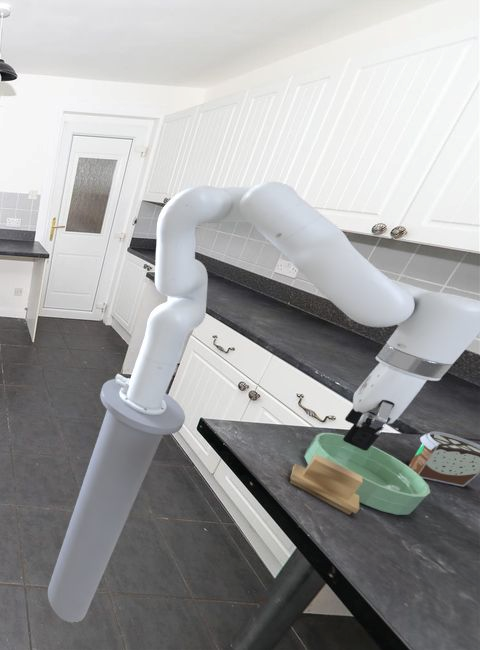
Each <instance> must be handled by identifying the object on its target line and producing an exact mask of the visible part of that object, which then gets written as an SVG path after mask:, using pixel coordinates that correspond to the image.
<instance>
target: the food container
mask: <svg viewBox="0 0 480 650" xmlns="http://www.w3.org/2000/svg"><path fill="white" fill-rule="evenodd" d="M419 440H420V442H421V444H420V446H419V447H418V449H417V451H416V453H415V455H414V456H413V458H412V459H411V461H410V462H409V464H408V465H407V466H408V467H410V468H411V469H412V470H414V471H415V472H416V473H417V474H419V475H420V476H421V477H422V478H423V479H425V480H430V481H435V482H439V483H443V484H449V485H454V486H459V487H465V486H467V485H468V484H469V483H470V482H471V481H472V480H474V479H475V478H476V477H477V476H479V474H480V444H478V443H475V442H473V441H471V440H468V439H465V438H463V437H460V436H458V435H454V434H450V433H447V432H443V431H436V430H435V431H430V432H427V433H425V434H423V435H422V436H421V437H420V438H419Z"/></svg>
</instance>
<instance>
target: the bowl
mask: <svg viewBox="0 0 480 650" xmlns="http://www.w3.org/2000/svg"><path fill="white" fill-rule="evenodd" d="M344 437H345V434H344V435H343V434H339V433H333V432H321V433H318V434H317V435H315V437H314V438H313V439H312V441H311V443H310V444H309V446H308V447H307V448H306V450H305V452H304V459H305V461H306V464H307V465H308V464H309V463H310V461H311V460H312V458H313V457H314V455H315V454H317V455H319V456H321V457H323V458H325V459H327V460H329V461H331V462H333V463H335V464H337V465H339V466H342V467H344V468H346V469H348V470H350V471H352V472H354V473H356V474H358V475H360V476H362V484H361V485H360V486H359V488H358V489H357V490H356V491H355V494H357V495H359V504H362V505H365V506H367V507H369V508H372V509H375V510H378V511H381V512H383V513H389V514H392V515H397V516H403V515H407V516H408V515H410V514H411V513H413V512H414V511H415V510H416V509H417V508H418V507H419V506H420V504H421V503H422V502H423V501H424V500H425V499H427V497H428V496H429V495H430V494H431V490H430V485H429V484H428V483H427V482H426V481H425V480H424V479H425V478H422V477H421V476H420V475H419V474H417V473H416V472H415V471H414V470H412V469H411V468H410V467H408V466H409V465H407V464H406V463H404V462H402V461H401V460H400V459H398V458H397V457H394V456H393V455H391V454H389V453H387V452H385V451H383V450H381V449H380V448H378V447H376V446H374V445H371V447H370V448H369V449H368V450H367V451H365V450H362V449H360V448H358V447H356V446H353V445H351V444H349V443H347V442H345V441H344V440H343V438H344Z"/></svg>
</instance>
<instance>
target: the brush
mask: <svg viewBox="0 0 480 650" xmlns="http://www.w3.org/2000/svg"><path fill="white" fill-rule="evenodd" d="M289 477H290V478H289V479H290V482H289V484H291V485H293V486H295V487H297V488H299V489H300V490H302V491H304V492H307V493H308V494H310V495H312V496H314V497H316V498H318V499H319V500H321V501H323V502H324V503H327V504H328V505H330V506H332V507H334V508H335V509H337V510H340V511H341V512H342V513H345V514H347V515H351V514H352V513H353V514H357V513H358V512H359V510H360V502H359V495H357V494H355V491H356V490H357V489H358V488H359V486H360V485H361V484H362V476H360V475H358V474H356V473H354V472H352V471H350V470H348V469H346V468H344V467H342V466H339V465H337V464H335V463H333V462H331V461H329V460H327V459H325V458H323V457H321V456H319V455H317V454H315V455H314V457H313V458H312V460H311V461H310V463H309V464H308V463H307V465H306V467H304V466H303V465H300V464H298V463H295V464H294V465H293V466H292V471H291V474H290V476H289Z"/></svg>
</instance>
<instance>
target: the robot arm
mask: <svg viewBox="0 0 480 650" xmlns="http://www.w3.org/2000/svg"><path fill="white" fill-rule="evenodd" d="M199 224H250V225H251V227H253V228H254V229H255V230H256V231H257V232H258V233H259V234H261V235H262V236H263V237H264V238H266V240H268V241H269V242H270V243H271V244H272V245H273V246H274V247H275V248H276V249H277V250H278V251H280V252H281V254H282V255H284V256H285V257H286V258H287V259H288V260H289V261H290V262H291V263H292V265H293V266H294V267H295V268H296V269H297V270H299V272H301V274H303V275H304V277H306V279H307V280H308V281H309V282H310V283H311V284H312V285H313V286H314V287H315V288H316V289H317V290H318V291H319V292H320V293H321V294H322V295H323V296H324V297H326V298H327V299H328V300H329V301H330V302H331V303H332V304H333V305H335V307H336V308H338V309H339V310H340V311H341V312H342V313H343V314H344V315H346V316H347V317H348V318H350V319H351V320H352V321H353V322H356V323H358V324H360V325H363V326H366V327H369V328H370V327H372V328H388V327H394V326H396V325H397V327H396V329H395V330H394V331H393V333H392V334H391V335H390V337H389V338H388V340H386V343H385V344H384V345H383V346H382V348H381V349H380V350H379V352H378V354H377V355H376V356H375V360H376V361H377V362H378V364H377V365H376V366H375V367H374V369H372V371H371V372H370V373H369V375H367V377H366V378H365V379H364V380H363V382H362V383H361V384H360V385H359V387H357V389H356V390H355V392H354V393H353V397H352V408H351V409H350V411H349V412H348V413H347V415H346V416H345V418H344V420H345V421H346V423H347V422H348V423H349V424H352V426H351V427H350V429H349V430H348V431H347V432H346V434H344V436H345V437H344V438H343V440H344V441H345V442H347V443H349V444H351V445H353V446H356V447H358V448H360V449H362V450H365V451H367V450H368V449H369V448H370V447H371V446H373V444H374V443H375V442H376V441H377V440H378V438H379V437H380V435H381V434H382V432H383V430H384V428H385V426H386V425H391V424H393V423H394V422H396V420H397V419H399V417H400V416H401V415H402V414H403V412H405V410H406V409H407V408H408V407H409V405H410V404H411V403H412V402H413V400H414V399H415V398H416V396H417V395H418V394H419V392H420V391H421V390H422V388H423V387H424V385H425V384H426V383H427V381H431V382H439V381H440V380H442V377H443V376H444V375H445V374H446V373H447V372H448V371H449V370H450V369H451V367H452V366H453V364H454V363H455V362H456V361H457V360H458V359H459V358H460V357H461V355H462V354H463V353H464V352H465V350H466V349H467V348H468V347H469V346H470V345H471V343H472V342H473V341H474V340H475V339H476V337H477V336H478V335H479V334H480V300H478V299H474V298H471V297H466V296H463V295H458V294H452V293H447V292H440V291H439V292H438V291H437V292H436V291H431V290H428V289H425V288H422V287H418V286H415V285H412V284H410V283H409V284H408V283H406V282H403V281H399V280H395V279H392V278H389V277H388V276H387V275H386V274H384V273H383V272H382V271H380V270H379V269H378V268H377V267H375V266H374V265H373V264H372V263H371V262H370V261H368V259H366V258H365V257H364V256H363V255H362V254H361V253H360V252H359V251H358V250H357V249H356V248H355V246H353V245H352V243H351V242H350V240H349V238H348V237H347V236H346V233H344V232H343V231H342V229H340V228H339V227H338V226H337V225H336V224H335V223H333V222H332V221H331V220H330V219H328V218H327V217H326V216H325V215H323V214H322V213H321V212H319V211H318V210H317V209H315V208H314V207H313V206H312V205H311V204H309V203H308V202H307V201H306V200H304V198H302V197H301V196H300V195H299V194H298V193H297V191H296V190H295V189H294V187H292V186H291V185H288V184H285V183H283V182H281V181H265V182H262V183H259V184H255V185H251V186H250V185H249V186H231V187H228V186H227V187H216V186H212V185H195V186H192V187H189V188H185V189H184V190H182V191H180V192H179V193H177V194H175V195H173V197H171V199H169V200H168V202H167V203H166V204H164V206H163V208H162V209H161V211H160V213H159V216H158V218H157V223H156V247H155V263H154V264H155V266H154V267H155V268H154V272H155V273H154V286H155V288H156V290H157V291H158V293H159V294H161V295H162V296H165V297H167V301H165V302H163V303H161V304H159V305H158V306H156V307H155V308H154V309H153V310H152V311H151V313H150V314H149V317H148V319H147V323H146V329H145V333H144V337H143V340H142V344H141V346H140V350H139V352H138V356H137V358H136V361H135V364H134V367H133V370H132V373H131V376H130V378H129V377H128V378H127V377H125V376H123V375H121V374H120V373H116V376H115V377H114V379H116V382H115V383H117V384H118V385H121V386H122V388H121V389H120V392H119V395H120V398H121V399H122V400H123V402H124V403H125V404H127V405H128V406H129V407H131V408H132V409H134V410H136V411H138V412H141V413H144V414H148V415H161V414H163V413H164V412H165V410H166V407H167V406H166V403H165V401H164V400H163V398H164V396H165V393H166V394H167V391H168V388H169V385H170V383H171V381H172V378H173V376H174V373H175V371H176V368H177V366H178V364H179V361H180V359H181V356H182V353H183V350H184V346H185V342H186V339H187V337H188V335H189V334H190V332H192V331H193V330H195V329H196V328H198V327H199V326H201V324H202V323H203V322H204V320H205V317H206V314H207V299H208V285H209V284H208V281H209V278H208V276H209V275H208V272H207V271H208V270H207V268H206V266H205V265H204V264H203V262H202V261H200V260H198V259H196V247H197V246H196V245H197V241H196V239H197V238H196V232H195V231H196V228H197V226H198V225H199Z"/></svg>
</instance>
